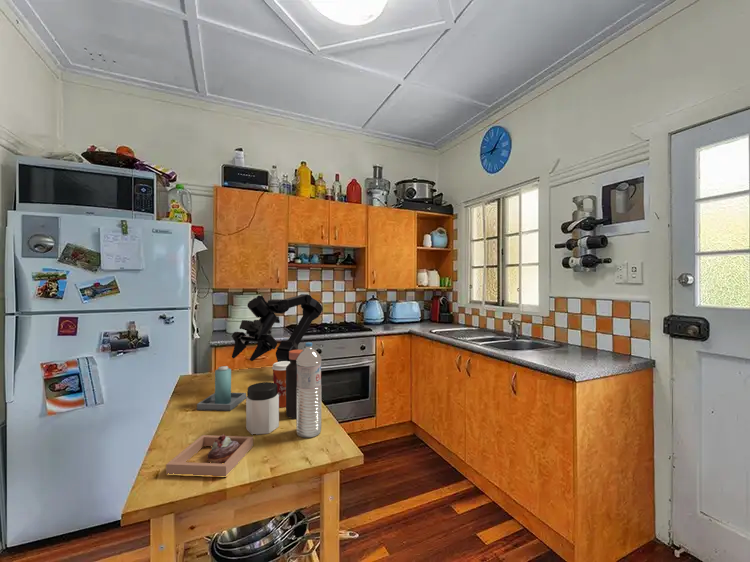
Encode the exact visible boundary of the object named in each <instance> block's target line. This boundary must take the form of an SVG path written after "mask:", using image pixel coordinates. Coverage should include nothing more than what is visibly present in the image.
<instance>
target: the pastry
mask: <svg viewBox="0 0 750 562" xmlns="http://www.w3.org/2000/svg"><path fill="white" fill-rule="evenodd" d="M219 436H220V437H219V438H217V439H216V440H215V442H214V443H213V445H212V447H211V449H210V450H209V451H208V454H207V462H208V461H209V462H211V463H218V464H222V463H225V462H226V461H227V460H228V459H229V458H230V457H231V456H232V455H233V453H234V452H235V451H236V450H237V449H238V448H239V447H240V446H241V444H240V443H238V442H237V441H231V440H230V438H229V437H226V436H227V435H225V433H222V434H221V435H219ZM209 462H208V463H209Z"/></svg>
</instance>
